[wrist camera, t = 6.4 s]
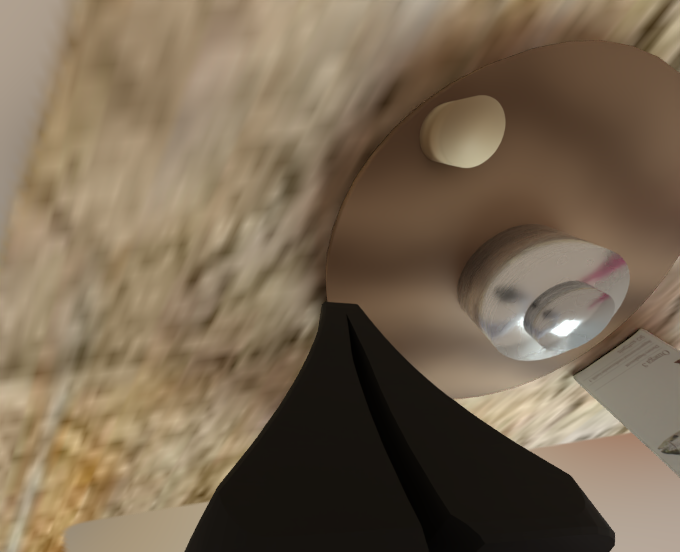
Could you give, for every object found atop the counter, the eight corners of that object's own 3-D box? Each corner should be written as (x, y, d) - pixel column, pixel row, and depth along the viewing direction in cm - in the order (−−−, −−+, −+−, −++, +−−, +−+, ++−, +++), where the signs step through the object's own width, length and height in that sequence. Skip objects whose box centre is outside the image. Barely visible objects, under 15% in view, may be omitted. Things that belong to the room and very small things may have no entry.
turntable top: (549, 389, 25) (585, 426, 21) (307, 384, 21) (307, 428, 18) (777, 103, 14) (914, 94, 11) (366, -15, 10) (392, -82, 7)
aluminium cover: (535, 322, 18) (596, 374, 14) (443, 321, 17) (482, 375, 13) (589, 228, 15) (688, 261, 11) (480, 219, 14) (546, 252, 10)
